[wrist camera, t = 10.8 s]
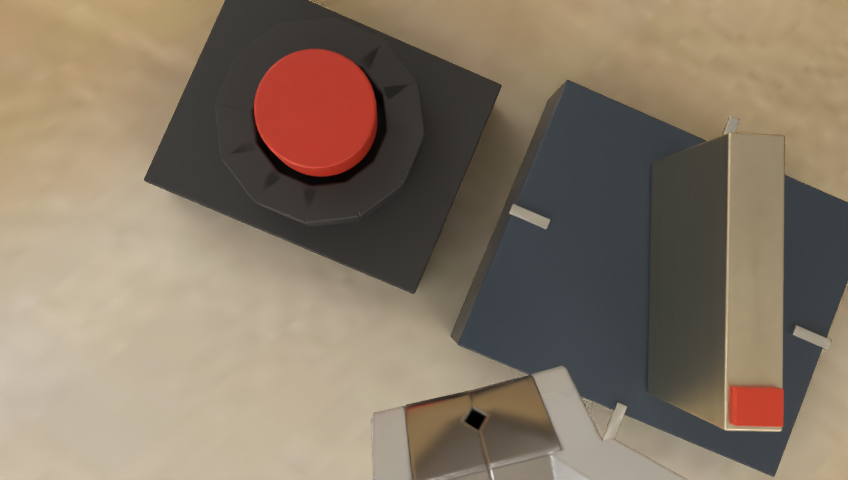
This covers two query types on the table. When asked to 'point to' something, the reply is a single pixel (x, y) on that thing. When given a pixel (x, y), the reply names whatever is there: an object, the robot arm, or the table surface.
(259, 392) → the table surface
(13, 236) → the table surface
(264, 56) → the button box
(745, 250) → the pointer
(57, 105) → the table surface
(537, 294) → the dial panel
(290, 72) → the button
